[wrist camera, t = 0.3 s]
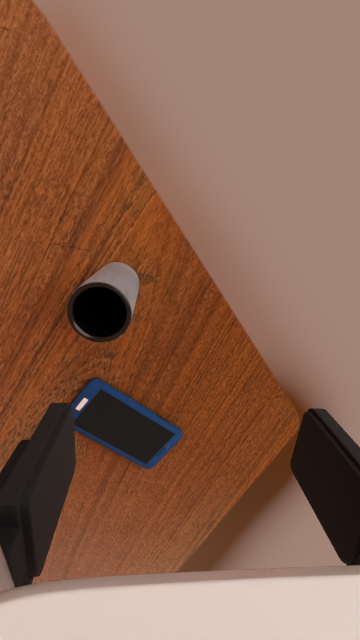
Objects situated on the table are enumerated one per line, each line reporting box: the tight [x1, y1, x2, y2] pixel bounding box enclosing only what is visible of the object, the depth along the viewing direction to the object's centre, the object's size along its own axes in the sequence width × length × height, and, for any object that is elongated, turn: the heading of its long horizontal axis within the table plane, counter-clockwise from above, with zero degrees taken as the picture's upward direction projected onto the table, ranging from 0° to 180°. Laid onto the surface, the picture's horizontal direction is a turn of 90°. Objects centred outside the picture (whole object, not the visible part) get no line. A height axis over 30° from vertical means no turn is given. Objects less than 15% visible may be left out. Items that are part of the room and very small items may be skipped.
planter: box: [67, 262, 139, 342], centre depth 24 cm, size 4×4×10 cm
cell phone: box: [69, 378, 182, 469], centre depth 35 cm, size 7×14×1 cm, turn 50°
